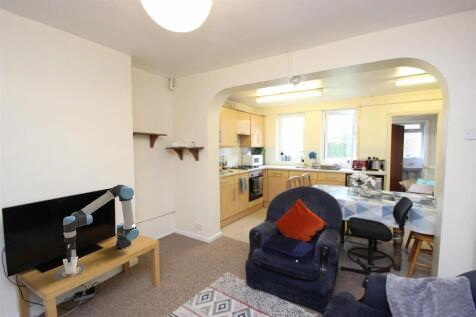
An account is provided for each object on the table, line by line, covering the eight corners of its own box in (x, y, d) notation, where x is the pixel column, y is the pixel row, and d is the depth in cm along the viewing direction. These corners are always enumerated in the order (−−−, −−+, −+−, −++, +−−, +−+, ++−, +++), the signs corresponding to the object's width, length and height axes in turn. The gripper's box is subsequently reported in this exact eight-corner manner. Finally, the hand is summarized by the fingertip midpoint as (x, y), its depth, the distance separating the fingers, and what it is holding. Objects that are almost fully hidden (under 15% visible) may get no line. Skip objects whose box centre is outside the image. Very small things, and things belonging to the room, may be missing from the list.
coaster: (82, 266, 189) (82, 265, 189) (79, 274, 177) (79, 273, 177) (64, 269, 184) (63, 269, 184) (59, 278, 172) (59, 277, 172)
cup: (65, 276, 171) (65, 261, 172) (60, 274, 176) (60, 260, 177) (80, 271, 179) (80, 256, 180) (75, 269, 184) (75, 255, 185)
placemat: (85, 264, 192) (85, 264, 192) (81, 275, 178) (81, 274, 178) (59, 269, 184) (59, 269, 184) (53, 280, 170) (53, 280, 170)
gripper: (68, 230, 188) (70, 255, 190) (59, 243, 165) (61, 270, 167) (79, 229, 191) (80, 253, 193) (72, 241, 169) (73, 268, 171)
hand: (72, 261), depth 180 cm, fingers open, 13 cm apart
